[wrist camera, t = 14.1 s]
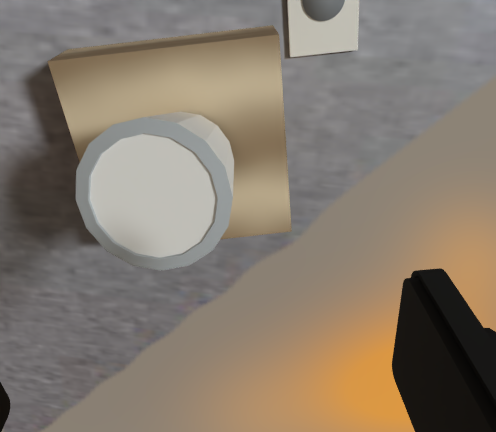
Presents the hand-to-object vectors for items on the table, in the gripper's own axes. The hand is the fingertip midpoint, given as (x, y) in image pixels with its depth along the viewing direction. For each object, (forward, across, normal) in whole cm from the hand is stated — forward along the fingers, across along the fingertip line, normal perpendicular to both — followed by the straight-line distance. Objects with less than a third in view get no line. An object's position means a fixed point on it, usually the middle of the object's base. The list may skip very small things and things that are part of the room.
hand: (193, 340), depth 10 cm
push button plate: (+21, -7, -4) cm, 22 cm away
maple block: (+21, +2, +3) cm, 22 cm away
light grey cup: (+17, +2, +3) cm, 17 cm away
